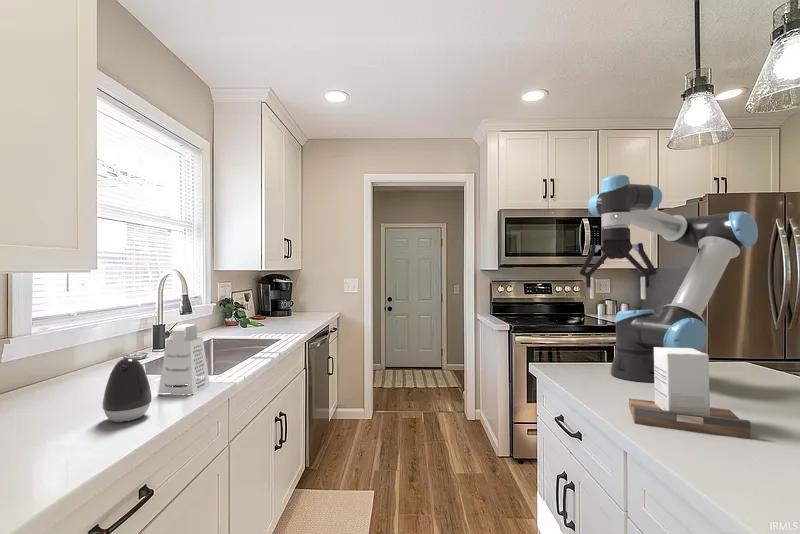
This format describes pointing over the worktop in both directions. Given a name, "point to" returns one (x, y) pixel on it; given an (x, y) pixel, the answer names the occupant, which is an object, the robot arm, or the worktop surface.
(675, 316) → the robot arm
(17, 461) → the worktop surface
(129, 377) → the black egg-shaped figure
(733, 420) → the shelf board
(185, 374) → the grater
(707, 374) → the supplement box
